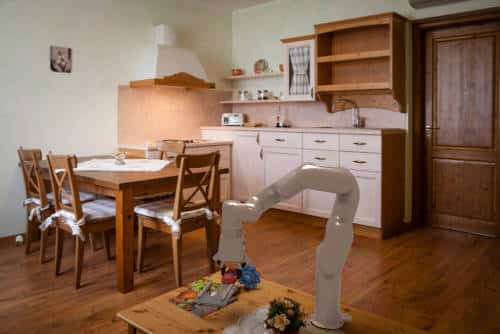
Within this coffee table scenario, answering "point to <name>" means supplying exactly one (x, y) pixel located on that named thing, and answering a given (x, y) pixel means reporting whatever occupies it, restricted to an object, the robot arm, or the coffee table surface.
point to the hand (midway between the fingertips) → (231, 277)
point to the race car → (230, 276)
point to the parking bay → (213, 300)
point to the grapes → (250, 276)
